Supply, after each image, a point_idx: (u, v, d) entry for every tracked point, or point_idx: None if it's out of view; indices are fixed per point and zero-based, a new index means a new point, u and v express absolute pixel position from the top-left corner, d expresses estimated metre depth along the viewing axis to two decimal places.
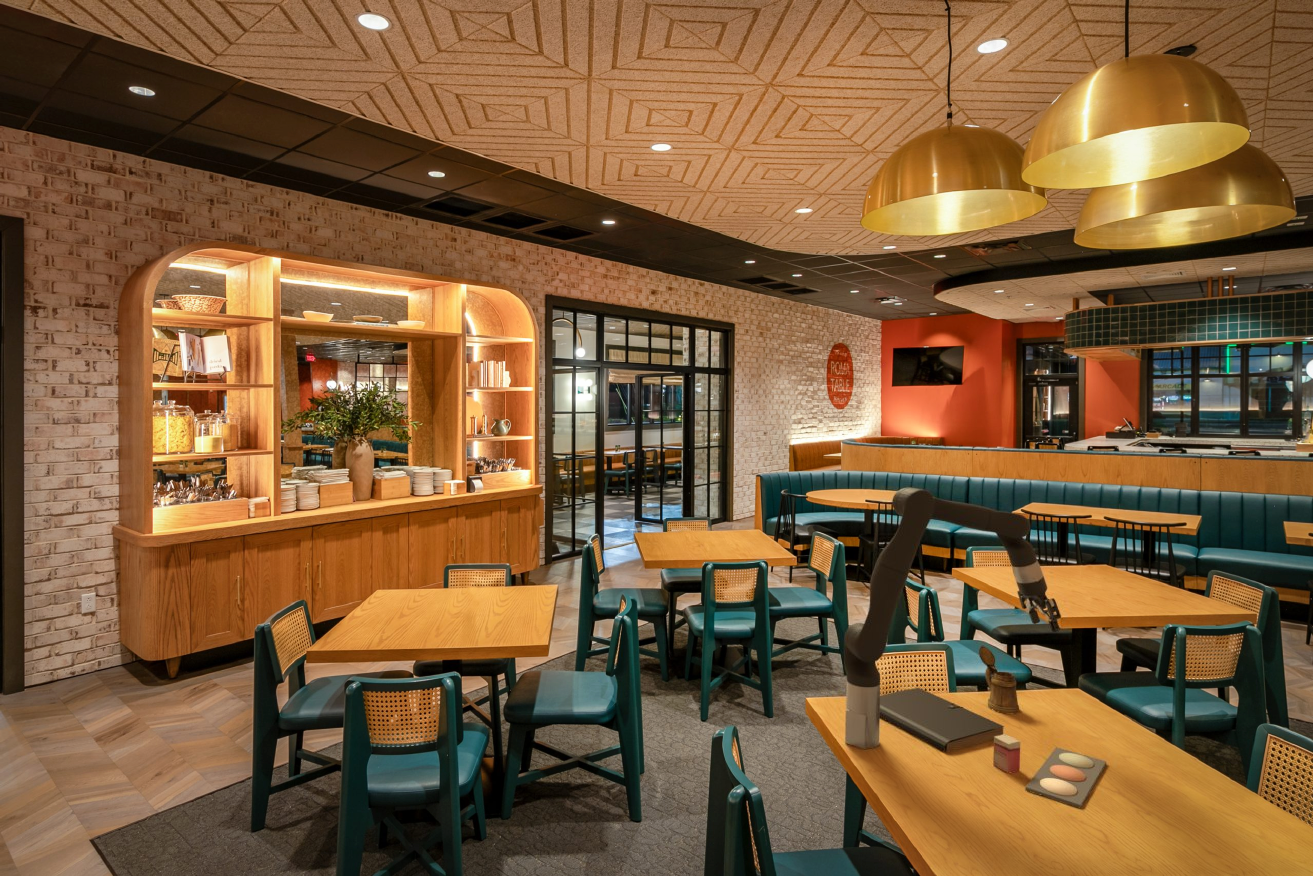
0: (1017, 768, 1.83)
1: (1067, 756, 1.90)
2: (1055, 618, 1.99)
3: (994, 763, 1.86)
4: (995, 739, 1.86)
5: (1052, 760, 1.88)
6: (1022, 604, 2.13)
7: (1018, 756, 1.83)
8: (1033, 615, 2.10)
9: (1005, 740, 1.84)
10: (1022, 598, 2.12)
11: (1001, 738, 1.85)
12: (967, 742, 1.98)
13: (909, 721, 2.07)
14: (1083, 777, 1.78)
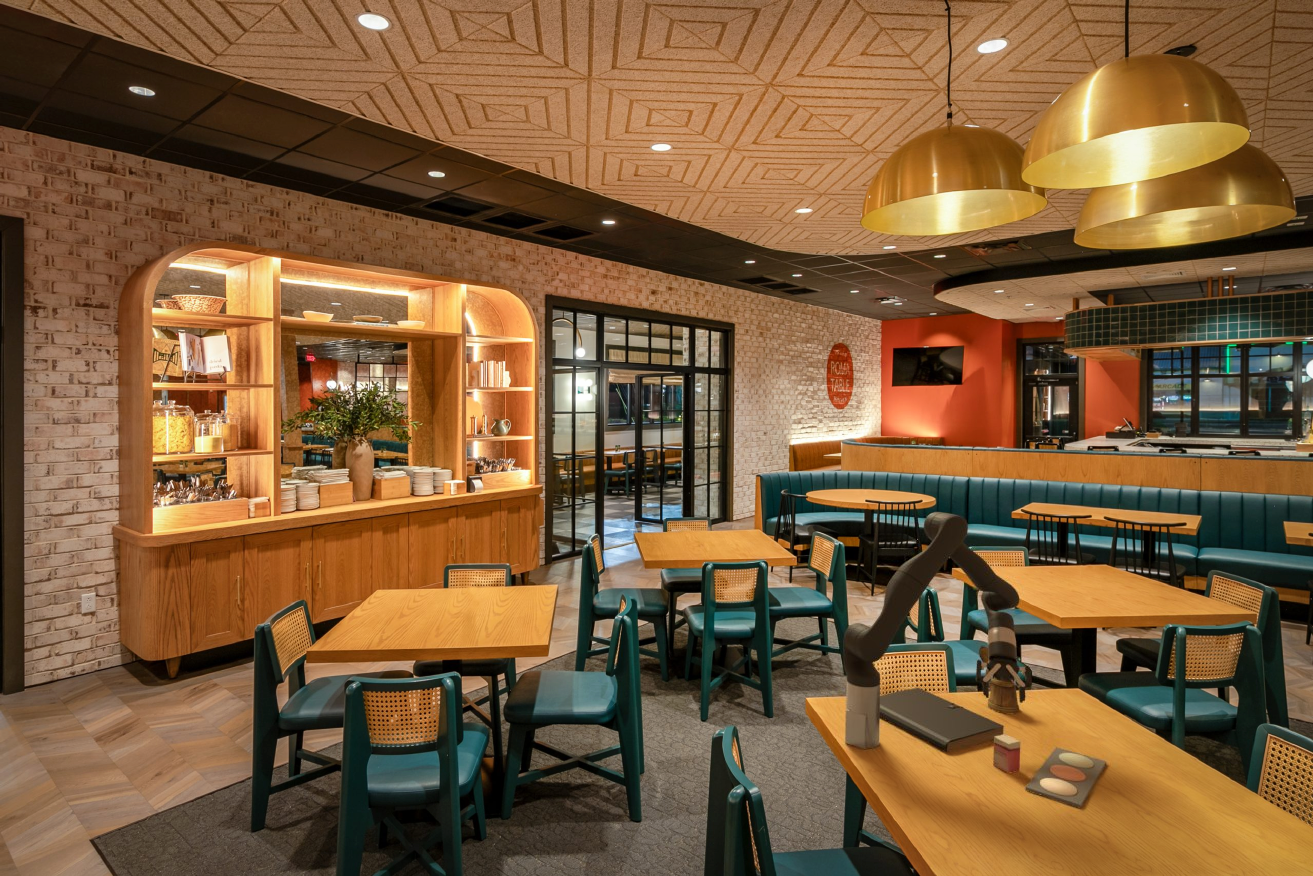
0: (1017, 768, 1.83)
1: (1067, 756, 1.90)
2: (1031, 684, 1.95)
3: (994, 763, 1.86)
4: (995, 739, 1.86)
5: (1052, 760, 1.88)
6: (979, 673, 2.00)
7: (1018, 756, 1.83)
8: None
9: (1006, 740, 1.84)
10: (981, 668, 2.02)
11: (1001, 738, 1.85)
12: (967, 742, 1.98)
13: (909, 721, 2.07)
14: (1083, 777, 1.78)
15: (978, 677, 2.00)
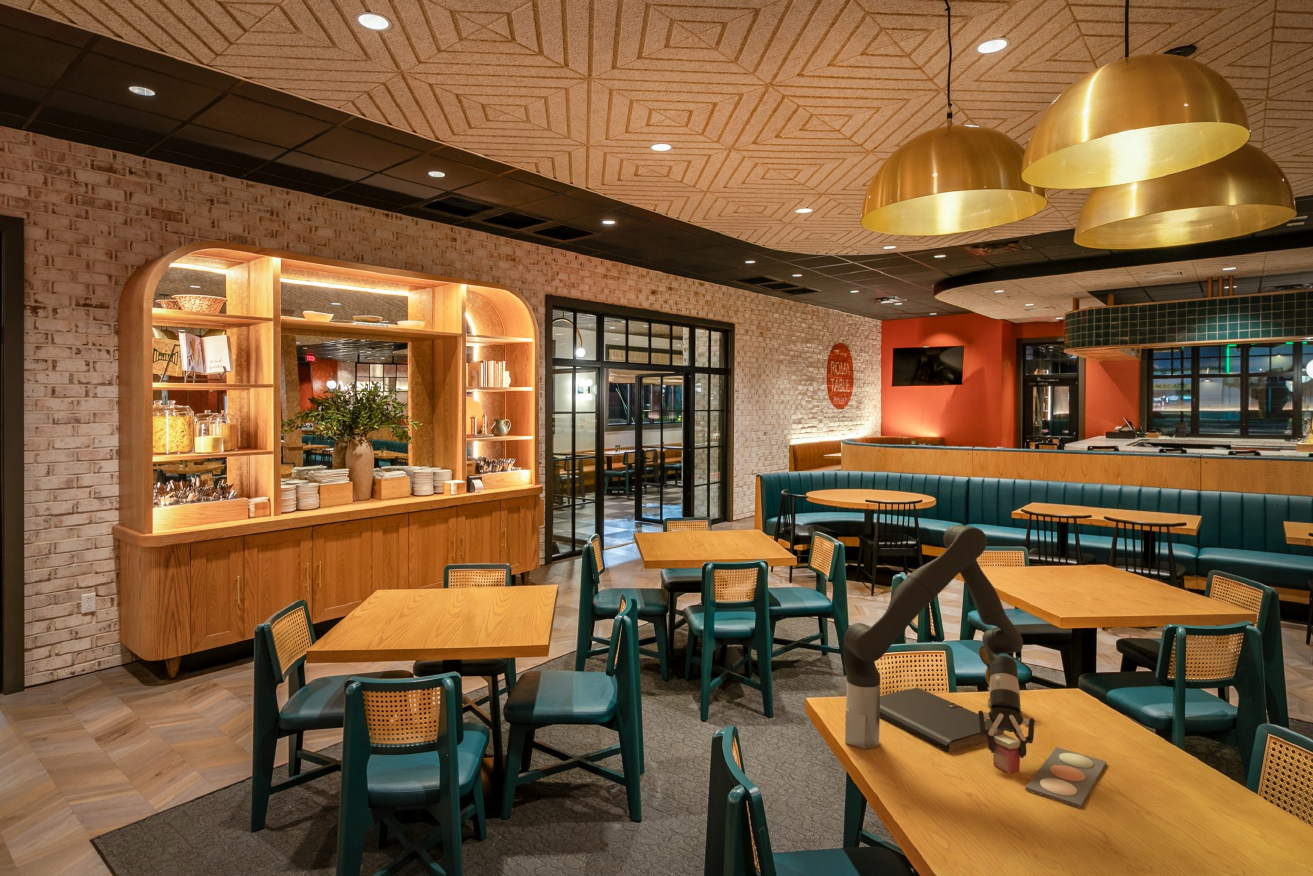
0: (1017, 767, 1.83)
1: (1067, 756, 1.90)
2: (1032, 738, 1.84)
3: (994, 763, 1.86)
4: (995, 739, 1.86)
5: (1052, 760, 1.88)
6: (983, 726, 1.89)
7: (1018, 756, 1.83)
8: (993, 741, 1.86)
9: (1005, 740, 1.84)
10: (984, 719, 1.90)
11: (1001, 738, 1.85)
12: (969, 742, 1.98)
13: (910, 721, 2.07)
14: (1083, 777, 1.78)
15: (983, 730, 1.88)
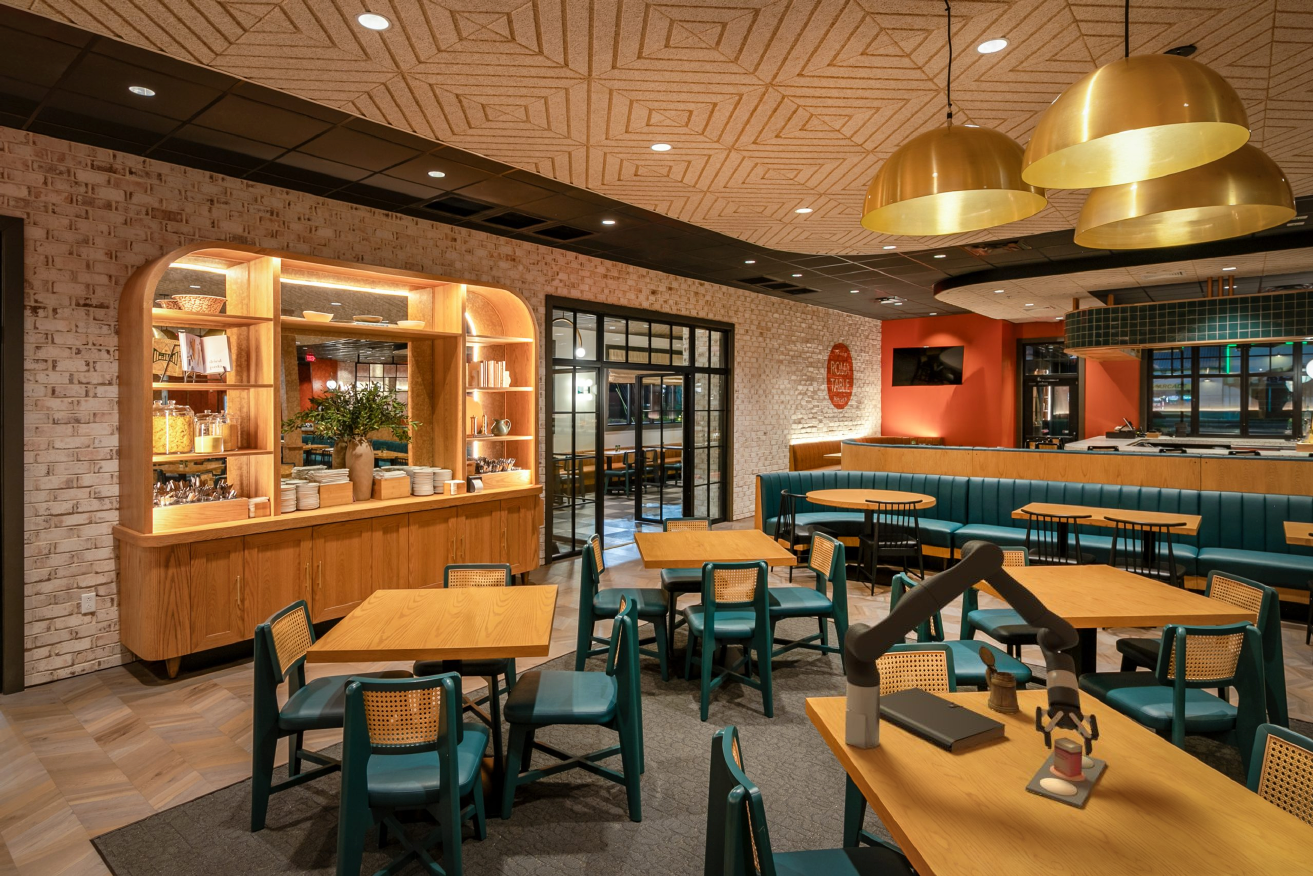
0: (1079, 772, 1.79)
1: None
2: None
3: (1055, 767, 1.82)
4: (1056, 742, 1.82)
5: (1052, 760, 1.88)
6: (1039, 722, 1.85)
7: (1080, 760, 1.79)
8: (1050, 737, 1.82)
9: (1067, 743, 1.80)
10: None
11: (1062, 741, 1.81)
12: (971, 741, 1.98)
13: (912, 721, 2.07)
14: (1083, 777, 1.78)
15: (1039, 726, 1.84)
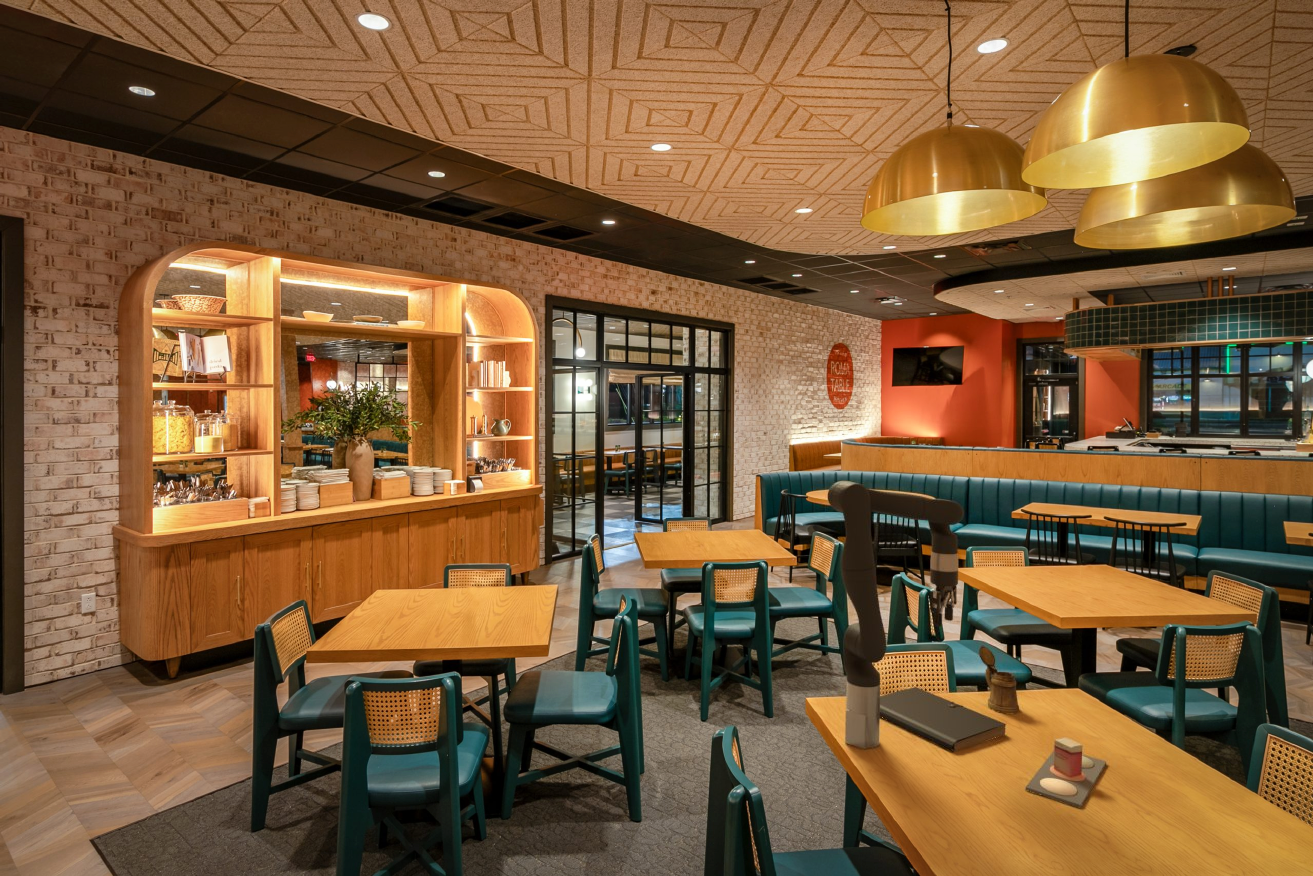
0: (1079, 772, 1.79)
1: None
2: None
3: (1055, 767, 1.82)
4: (1056, 742, 1.82)
5: (1052, 760, 1.88)
6: (939, 607, 1.98)
7: (1080, 760, 1.79)
8: None
9: (1067, 743, 1.80)
10: None
11: (1062, 741, 1.81)
12: (973, 741, 1.98)
13: (913, 721, 2.07)
14: (1083, 777, 1.78)
15: (939, 611, 1.98)
